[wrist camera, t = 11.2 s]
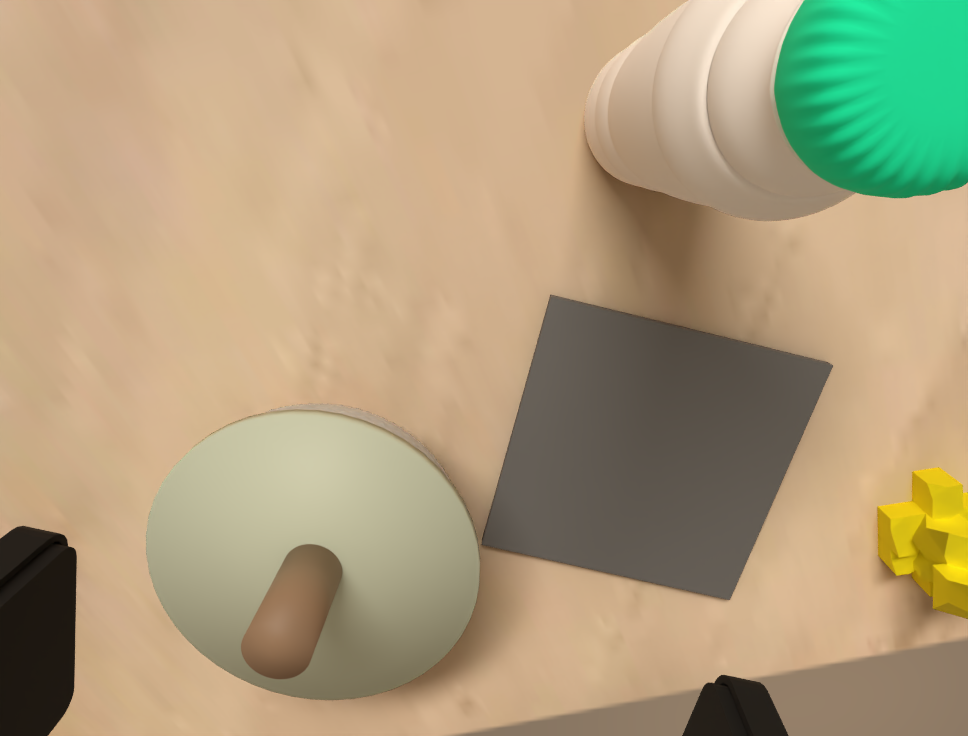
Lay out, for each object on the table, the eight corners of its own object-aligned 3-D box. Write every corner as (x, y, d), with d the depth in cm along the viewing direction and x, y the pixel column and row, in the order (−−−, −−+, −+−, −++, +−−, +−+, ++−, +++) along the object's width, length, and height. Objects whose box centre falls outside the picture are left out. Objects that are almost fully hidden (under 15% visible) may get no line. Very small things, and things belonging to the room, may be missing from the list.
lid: (514, 450, 33) (516, 523, 27) (444, 714, 39) (432, 826, 33) (163, 375, 33) (80, 432, 26) (144, 656, 38) (73, 759, 32)
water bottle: (719, 174, 35) (1152, 235, 12) (589, 195, 36) (754, 291, 12) (713, 31, 33) (1235, -248, 10) (575, 55, 34) (744, -154, 10)
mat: (828, 362, 39) (832, 365, 38) (726, 594, 44) (729, 599, 44) (550, 294, 38) (551, 296, 37) (482, 539, 43) (481, 544, 43)
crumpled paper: (973, 460, 41) (1077, 530, 33) (969, 567, 43) (1065, 654, 36) (876, 476, 41) (957, 548, 34) (877, 581, 44) (953, 669, 36)
